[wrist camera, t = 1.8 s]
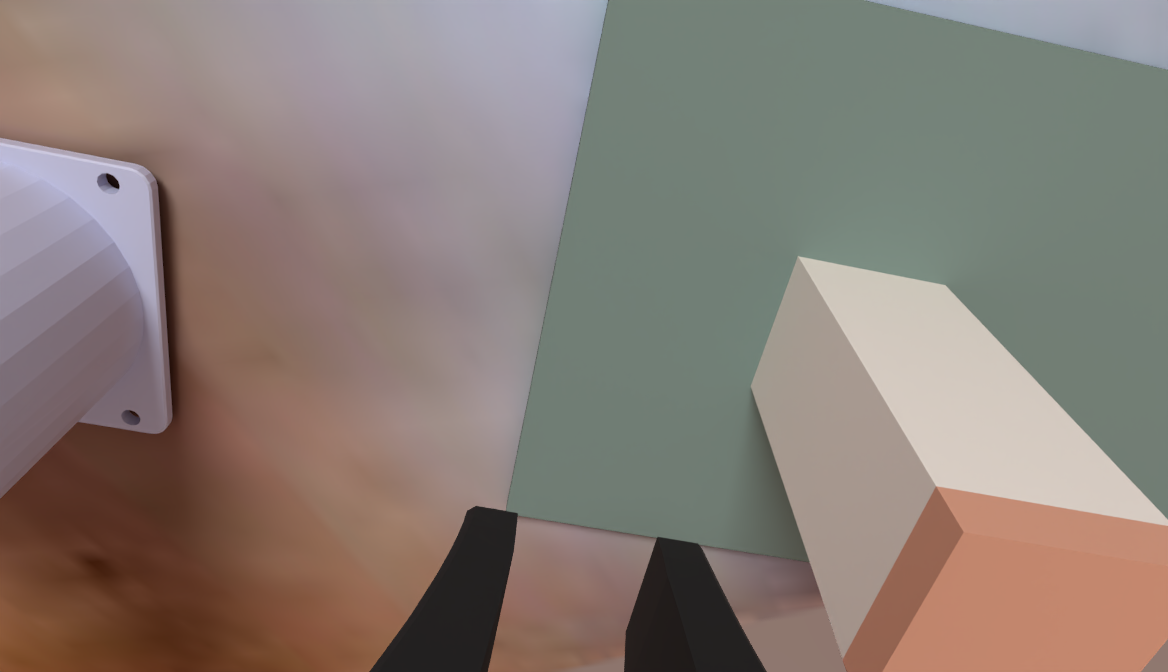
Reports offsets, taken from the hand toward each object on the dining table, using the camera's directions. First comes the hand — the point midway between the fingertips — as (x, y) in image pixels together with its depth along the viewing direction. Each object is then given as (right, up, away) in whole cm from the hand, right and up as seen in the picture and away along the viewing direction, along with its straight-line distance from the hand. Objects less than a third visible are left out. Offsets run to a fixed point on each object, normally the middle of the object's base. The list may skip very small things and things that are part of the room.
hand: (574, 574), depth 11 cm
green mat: (+10, +3, +10) cm, 15 cm away
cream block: (+7, +3, +9) cm, 12 cm away
